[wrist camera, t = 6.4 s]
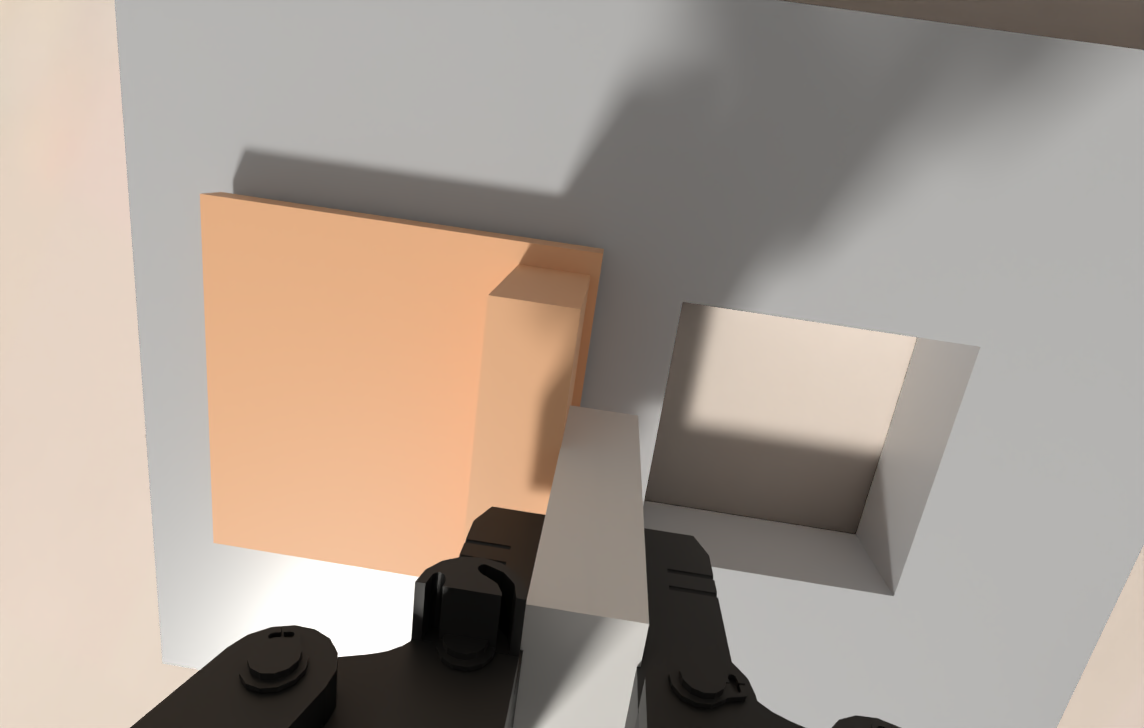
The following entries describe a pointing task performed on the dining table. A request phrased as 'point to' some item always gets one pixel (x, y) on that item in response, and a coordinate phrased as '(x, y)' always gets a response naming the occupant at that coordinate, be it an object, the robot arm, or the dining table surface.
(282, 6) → the socket
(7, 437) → the dining table surface
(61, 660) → the dining table surface
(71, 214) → the dining table surface
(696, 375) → the dining table surface
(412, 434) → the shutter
